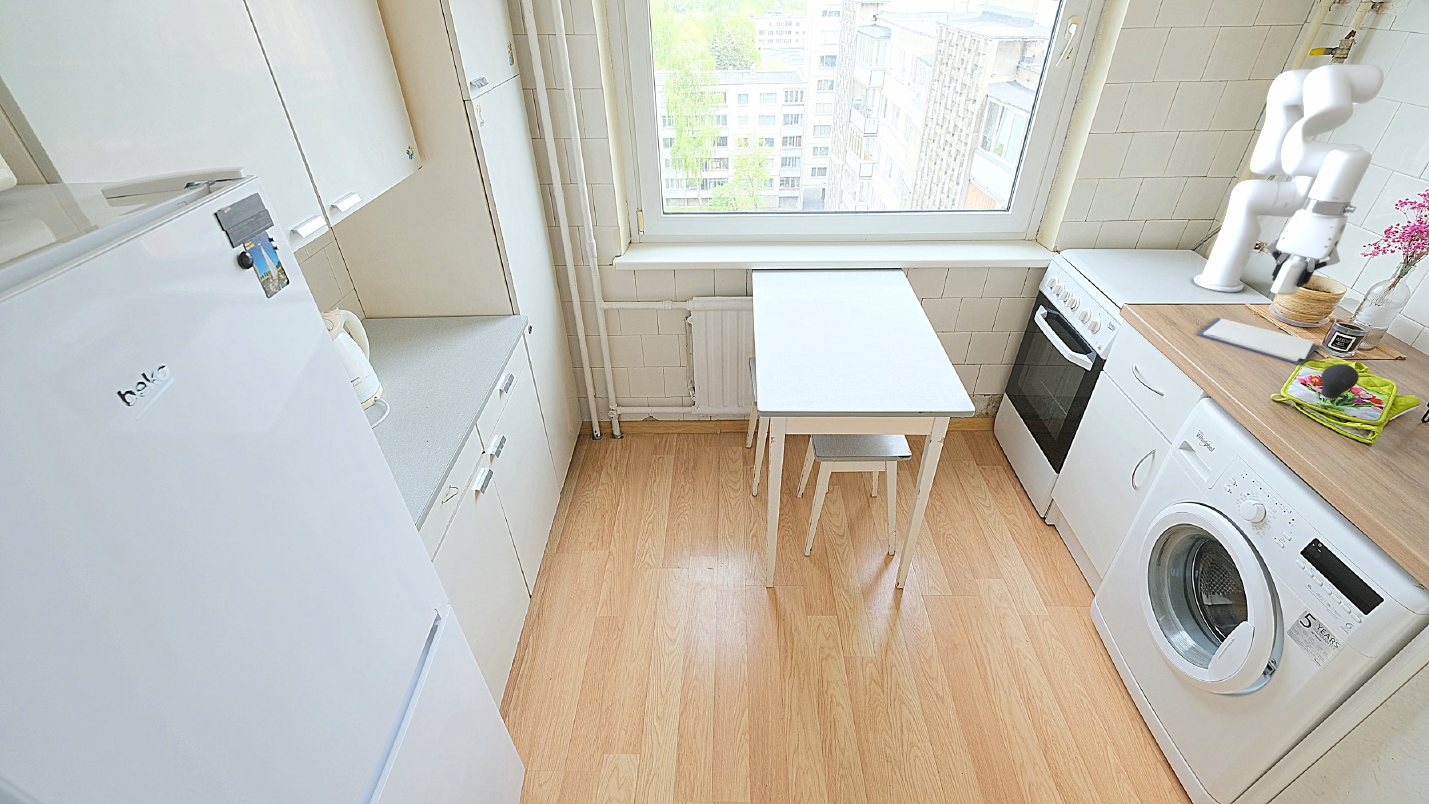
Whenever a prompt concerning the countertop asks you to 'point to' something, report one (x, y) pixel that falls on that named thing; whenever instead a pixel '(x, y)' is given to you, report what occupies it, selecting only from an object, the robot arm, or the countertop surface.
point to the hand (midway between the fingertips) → (1288, 281)
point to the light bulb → (1337, 381)
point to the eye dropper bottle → (1289, 276)
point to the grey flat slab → (1260, 340)
